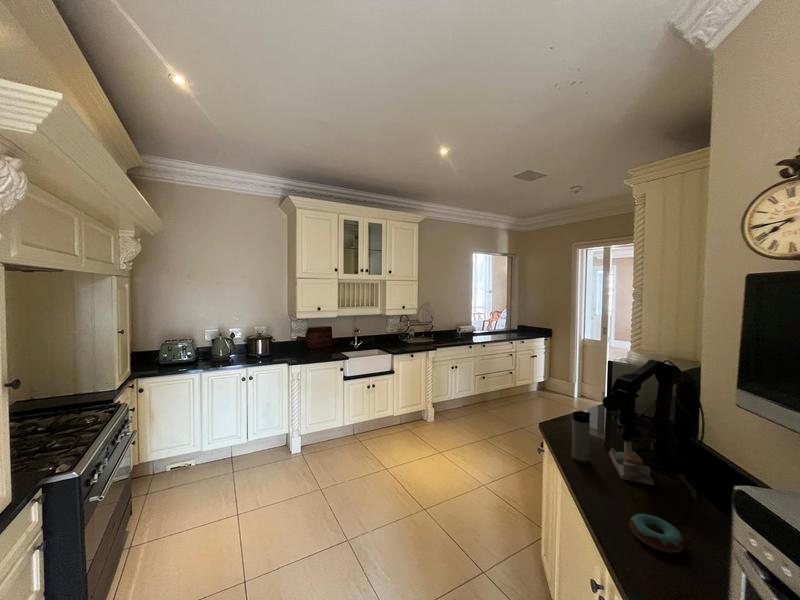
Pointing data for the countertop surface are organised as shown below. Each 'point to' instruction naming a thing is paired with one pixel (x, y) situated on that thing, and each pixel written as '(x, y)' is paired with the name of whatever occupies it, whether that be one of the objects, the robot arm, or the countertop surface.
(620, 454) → the ram
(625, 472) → the frame
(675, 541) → the donut
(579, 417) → the travel mug
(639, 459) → the box
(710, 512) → the countertop surface
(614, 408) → the robot arm
